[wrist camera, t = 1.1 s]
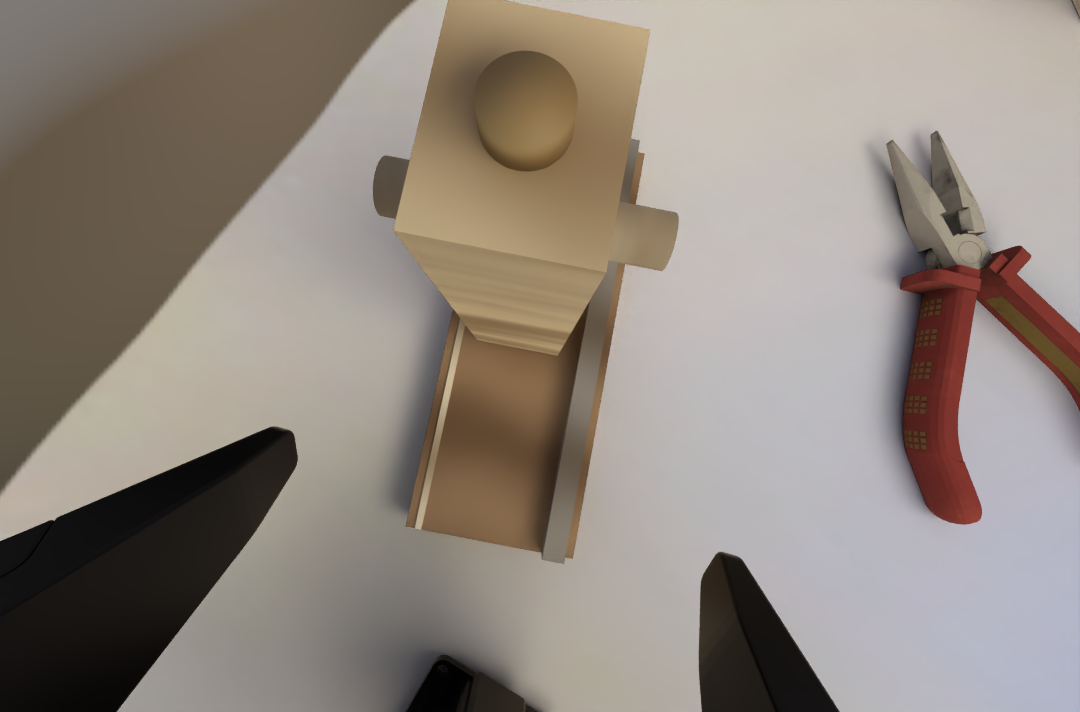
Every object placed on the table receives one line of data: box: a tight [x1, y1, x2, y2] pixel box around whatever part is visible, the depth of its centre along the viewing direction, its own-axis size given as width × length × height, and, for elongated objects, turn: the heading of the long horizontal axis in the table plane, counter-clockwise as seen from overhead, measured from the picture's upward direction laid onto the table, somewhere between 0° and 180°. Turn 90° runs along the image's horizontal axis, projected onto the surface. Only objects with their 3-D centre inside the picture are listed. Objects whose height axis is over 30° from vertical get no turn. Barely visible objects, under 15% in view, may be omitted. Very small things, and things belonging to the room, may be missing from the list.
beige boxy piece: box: [373, 0, 678, 356], centre depth 15 cm, size 5×8×15 cm, turn 79°
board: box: [406, 139, 644, 564], centre depth 23 cm, size 21×8×2 cm, turn 169°
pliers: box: [886, 131, 1080, 525], centre depth 24 cm, size 12×20×3 cm, turn 15°
